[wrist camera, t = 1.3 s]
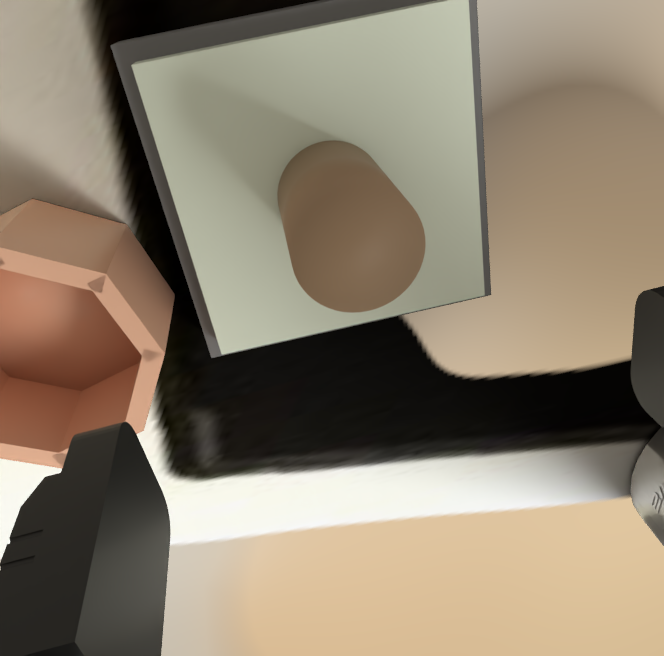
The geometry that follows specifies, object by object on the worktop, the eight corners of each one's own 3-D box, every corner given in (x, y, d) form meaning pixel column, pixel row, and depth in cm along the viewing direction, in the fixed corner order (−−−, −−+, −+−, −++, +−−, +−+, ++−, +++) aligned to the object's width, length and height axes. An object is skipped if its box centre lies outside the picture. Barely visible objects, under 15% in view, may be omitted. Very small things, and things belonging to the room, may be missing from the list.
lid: (458, -5, 17) (543, -1, 12) (476, 285, 22) (544, 366, 17) (135, 62, 17) (99, 90, 12) (222, 342, 21) (219, 441, 17)
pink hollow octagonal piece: (189, 241, 21) (181, 292, 17) (144, 407, 24) (130, 479, 20) (-40, 178, 19) (-101, 221, 15) (-59, 367, 22) (-113, 440, 18)
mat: (457, -28, 18) (475, -29, 17) (476, 277, 23) (490, 295, 22) (119, 41, 18) (110, 45, 16) (212, 336, 23) (211, 358, 21)
